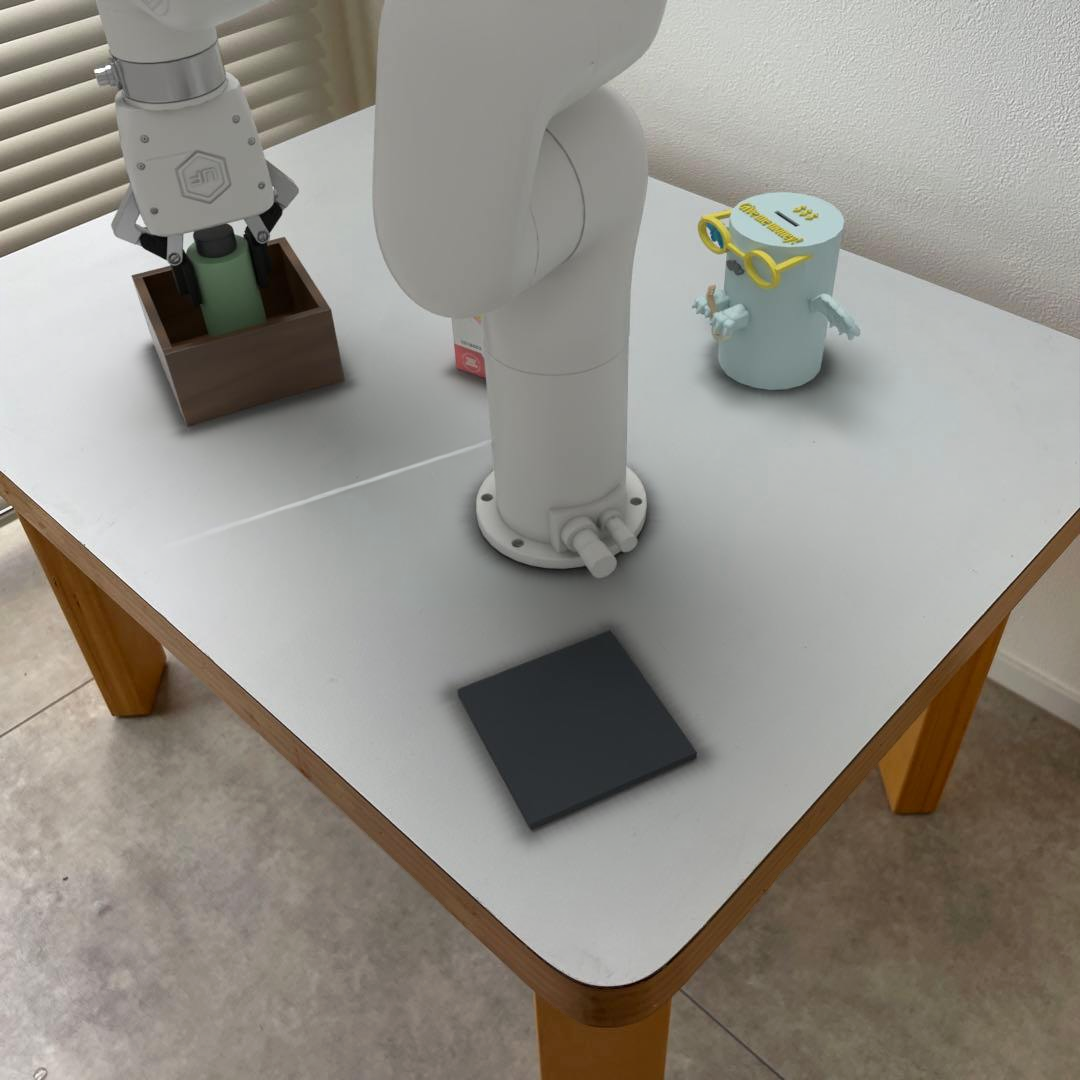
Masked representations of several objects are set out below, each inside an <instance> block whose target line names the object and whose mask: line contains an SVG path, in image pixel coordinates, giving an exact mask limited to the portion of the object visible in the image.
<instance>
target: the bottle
mask: <svg viewBox="0 0 1080 1080" xmlns="http://www.w3.org/2000/svg"><path fill="white" fill-rule="evenodd" d="M192 233H193V234H192V239H193V241H194V242H192V243H191V244H190V245H189V246H188V247H187V249H186V251H185V253H186V255H187V257H188V259H189V261H190V263H191V266H192V269H193V273H194V276H195V280H196V283H197V287H198V291H199V294H200V298H201V301H202V304H200V306H201V309H202V313H203V316H204V320H205V323H206V327H207V330H208V334H209V337H213V336H217V335H220V334H224V333H228V332H231V331H235V330H239V329H242V328H246V327H250V326H253V325H257V324H261V323H264V322H267V319H266V315H265V311H264V307H263V303H262V298H261V294H260V290H259V286H258V282H257V277H256V273H255V269H254V265H253V261H252V256H251V252H250V248H249V244H248V242H247V240H246V239H245V238H244V237H243V235H242V236H241V235H239V234H235V230H234V227H233V226H232V225H231V224H230V223H227V224H223V225H219V226H214V227H210V228H206V229H202V230H198V231H194V232H192Z"/></svg>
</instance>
